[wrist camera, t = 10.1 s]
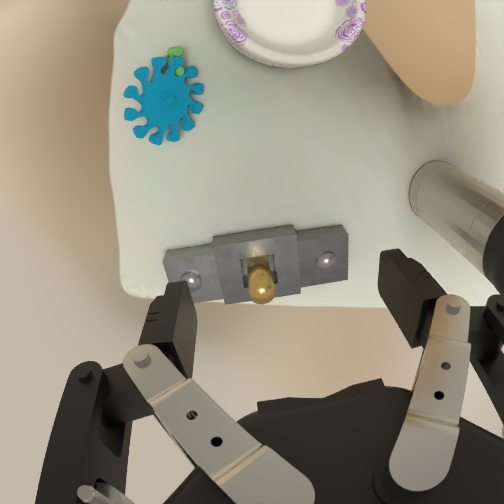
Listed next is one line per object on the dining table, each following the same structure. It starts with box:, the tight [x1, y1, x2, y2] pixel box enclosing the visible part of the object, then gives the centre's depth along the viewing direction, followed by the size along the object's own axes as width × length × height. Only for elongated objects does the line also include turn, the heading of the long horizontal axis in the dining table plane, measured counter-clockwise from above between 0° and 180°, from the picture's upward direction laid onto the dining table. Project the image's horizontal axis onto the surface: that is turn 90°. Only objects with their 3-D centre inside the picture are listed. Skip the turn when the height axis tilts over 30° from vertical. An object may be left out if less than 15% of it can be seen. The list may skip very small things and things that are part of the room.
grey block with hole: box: [163, 225, 348, 304], centre depth 43 cm, size 24×9×4 cm, turn 98°
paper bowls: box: [212, 0, 366, 68], centre depth 26 cm, size 15×15×8 cm
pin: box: [246, 255, 275, 304], centre depth 41 cm, size 3×3×8 cm
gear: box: [123, 47, 203, 146], centre depth 32 cm, size 11×6×10 cm
